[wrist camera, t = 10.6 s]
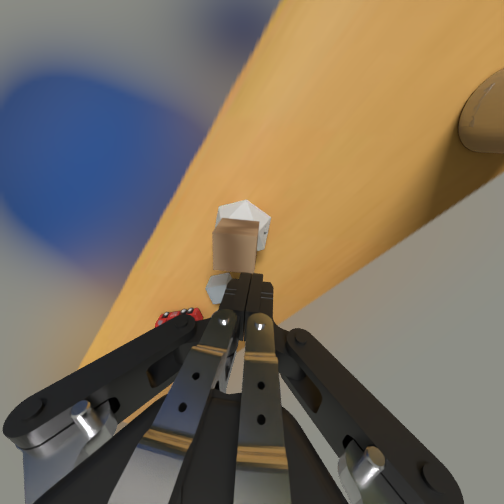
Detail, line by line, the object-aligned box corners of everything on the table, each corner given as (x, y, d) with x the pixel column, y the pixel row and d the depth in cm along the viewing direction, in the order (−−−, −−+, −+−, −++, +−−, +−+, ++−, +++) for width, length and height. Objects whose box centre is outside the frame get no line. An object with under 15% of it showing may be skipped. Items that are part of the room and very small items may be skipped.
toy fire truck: (159, 312, 47) (135, 349, 39) (213, 303, 45) (200, 340, 36) (166, 322, 49) (144, 360, 40) (219, 314, 46) (207, 353, 38)
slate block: (229, 272, 40) (225, 284, 37) (235, 287, 42) (232, 301, 39) (211, 275, 41) (205, 288, 38) (217, 291, 43) (213, 304, 40)
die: (245, 250, 38) (276, 263, 30) (201, 244, 34) (223, 258, 26) (254, 206, 37) (288, 208, 29) (209, 195, 33) (235, 193, 25)
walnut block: (259, 221, 27) (257, 236, 22) (256, 254, 29) (253, 274, 25) (222, 217, 27) (212, 232, 23) (222, 250, 29) (213, 269, 25)
